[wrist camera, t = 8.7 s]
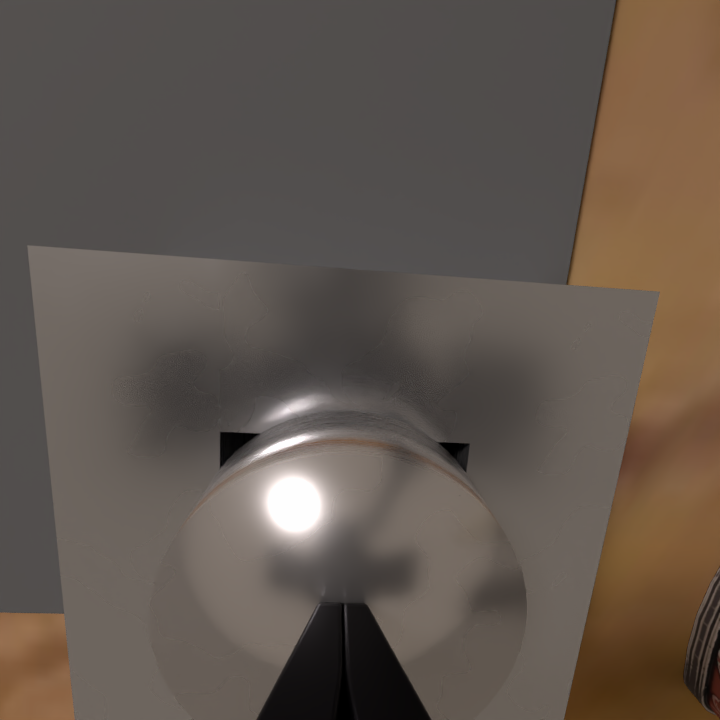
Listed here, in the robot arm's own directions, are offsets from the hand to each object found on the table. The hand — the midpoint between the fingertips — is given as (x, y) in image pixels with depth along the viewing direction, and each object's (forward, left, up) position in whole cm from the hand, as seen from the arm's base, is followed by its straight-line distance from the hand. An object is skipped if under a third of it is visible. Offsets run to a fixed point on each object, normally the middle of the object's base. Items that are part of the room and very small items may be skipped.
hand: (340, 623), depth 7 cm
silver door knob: (0, 0, -7) cm, 6 cm away
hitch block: (0, 0, -7) cm, 7 cm away
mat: (+4, -4, -7) cm, 9 cm away
